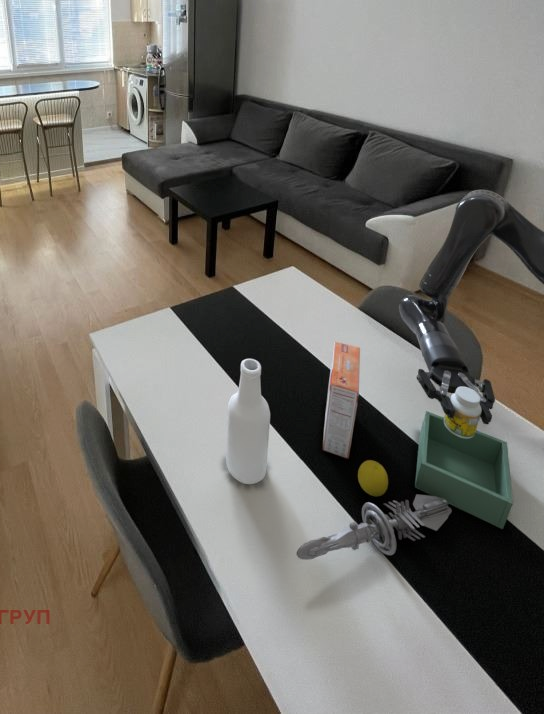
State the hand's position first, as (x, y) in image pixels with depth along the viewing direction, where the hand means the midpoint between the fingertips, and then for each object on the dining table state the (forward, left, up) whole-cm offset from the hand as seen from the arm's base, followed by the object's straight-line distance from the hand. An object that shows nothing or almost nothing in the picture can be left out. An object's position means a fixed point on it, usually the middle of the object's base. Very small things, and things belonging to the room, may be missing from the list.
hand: (469, 417), depth 85 cm
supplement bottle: (+1, -3, -6) cm, 7 cm away
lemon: (+14, +12, -18) cm, 26 cm away
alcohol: (+38, +21, -18) cm, 47 cm away
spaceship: (+12, +22, -18) cm, 31 cm away
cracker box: (+23, +1, -18) cm, 29 cm away
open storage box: (-1, -1, -18) cm, 18 cm away
